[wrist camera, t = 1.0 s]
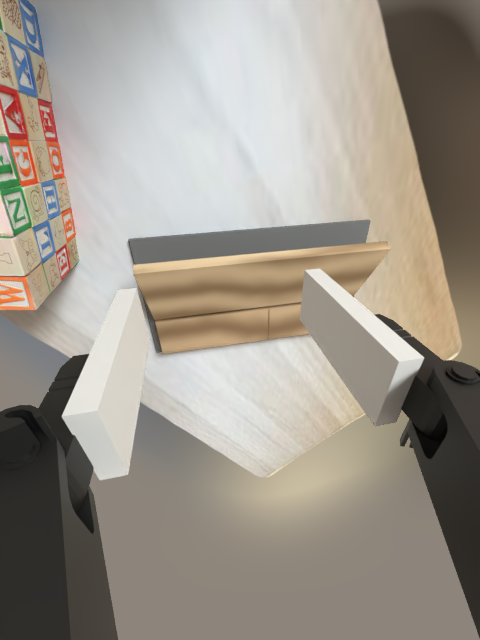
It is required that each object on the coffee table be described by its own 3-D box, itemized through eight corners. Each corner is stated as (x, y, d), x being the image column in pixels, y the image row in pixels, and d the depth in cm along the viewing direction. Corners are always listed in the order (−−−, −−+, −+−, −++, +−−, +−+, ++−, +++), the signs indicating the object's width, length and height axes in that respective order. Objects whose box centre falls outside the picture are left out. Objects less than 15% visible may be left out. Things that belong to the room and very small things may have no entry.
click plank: (133, 264, 28) (133, 274, 28) (386, 241, 32) (391, 248, 31) (154, 312, 37) (154, 319, 36) (350, 289, 41) (353, 295, 40)
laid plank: (156, 318, 38) (155, 323, 37) (348, 295, 42) (352, 298, 41) (163, 349, 41) (162, 354, 40) (342, 324, 45) (346, 328, 44)
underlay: (129, 238, 32) (128, 240, 32) (368, 219, 36) (370, 220, 36) (157, 350, 41) (157, 352, 41) (345, 324, 45) (347, 326, 45)
